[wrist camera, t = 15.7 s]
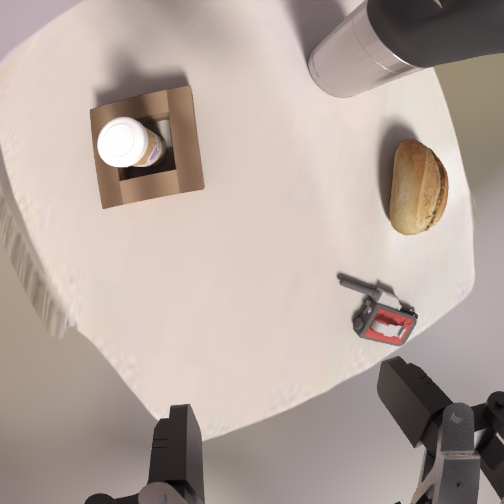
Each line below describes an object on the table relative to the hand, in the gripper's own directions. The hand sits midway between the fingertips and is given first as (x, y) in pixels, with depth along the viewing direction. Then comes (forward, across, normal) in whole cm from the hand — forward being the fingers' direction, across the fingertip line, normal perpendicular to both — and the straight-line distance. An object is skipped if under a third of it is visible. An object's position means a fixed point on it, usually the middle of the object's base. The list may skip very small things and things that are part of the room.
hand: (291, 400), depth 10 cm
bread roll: (+30, -28, -4) cm, 41 cm away
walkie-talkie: (+31, -22, +17) cm, 42 cm away
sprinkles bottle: (+30, +9, -13) cm, 34 cm away
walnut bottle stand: (+30, +9, -13) cm, 34 cm away
